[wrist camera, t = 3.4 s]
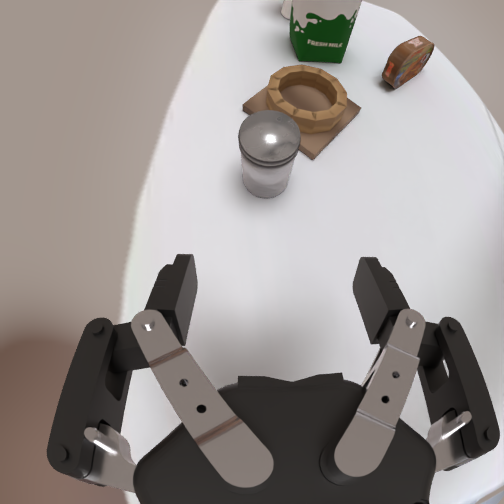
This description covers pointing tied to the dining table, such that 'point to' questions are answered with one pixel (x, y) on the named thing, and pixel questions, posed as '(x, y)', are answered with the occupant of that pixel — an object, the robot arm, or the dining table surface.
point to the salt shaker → (268, 151)
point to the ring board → (307, 104)
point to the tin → (407, 60)
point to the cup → (286, 9)
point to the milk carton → (322, 28)
